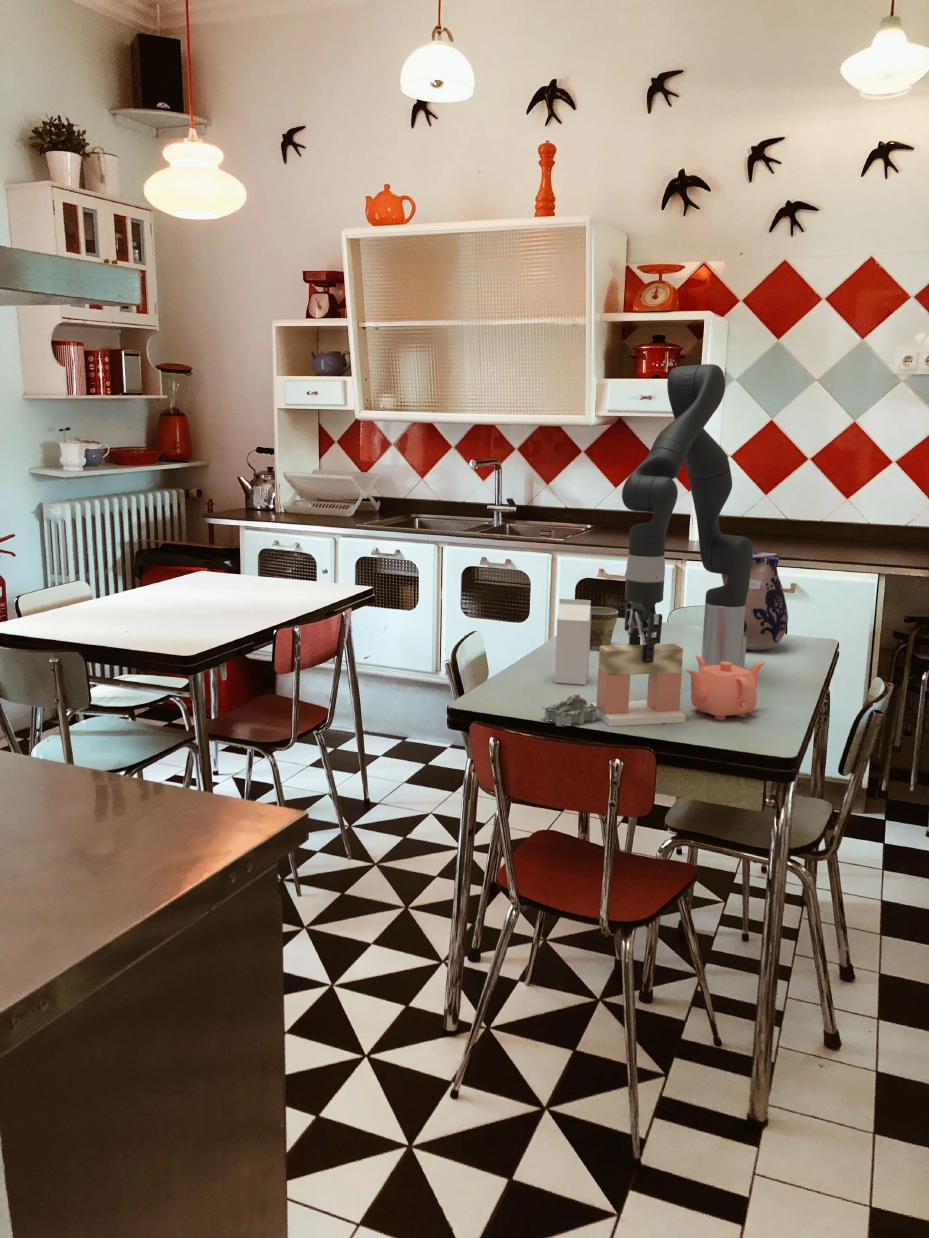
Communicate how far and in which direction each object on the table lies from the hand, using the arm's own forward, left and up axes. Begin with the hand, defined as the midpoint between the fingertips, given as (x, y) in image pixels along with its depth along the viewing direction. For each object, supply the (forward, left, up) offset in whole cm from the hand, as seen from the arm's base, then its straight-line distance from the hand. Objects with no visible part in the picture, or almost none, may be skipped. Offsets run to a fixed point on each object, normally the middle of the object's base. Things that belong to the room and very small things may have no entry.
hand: (640, 658), depth 198 cm
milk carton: (+5, -28, -12) cm, 31 cm away
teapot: (-18, 0, -13) cm, 22 cm away
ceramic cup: (-11, -59, -12) cm, 61 cm away
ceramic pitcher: (-52, -54, -12) cm, 76 cm away
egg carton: (+14, 0, -13) cm, 19 cm away
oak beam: (0, 0, -3) cm, 3 cm away
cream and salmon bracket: (0, 0, -12) cm, 12 cm away
